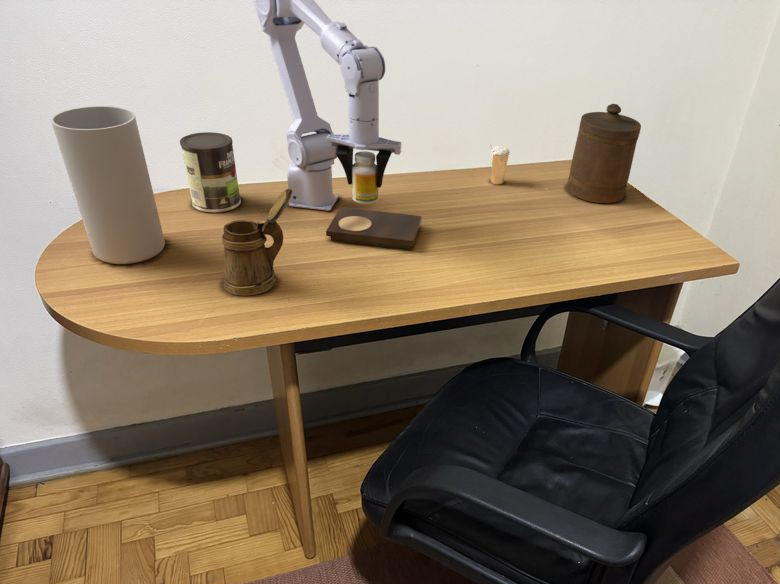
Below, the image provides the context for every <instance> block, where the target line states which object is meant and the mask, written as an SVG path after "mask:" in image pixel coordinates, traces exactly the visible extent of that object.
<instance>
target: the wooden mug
mask: <svg viewBox="0 0 780 584" xmlns="http://www.w3.org/2000/svg"><path fill="white" fill-rule="evenodd" d="M292 192H293V191H292V190H291V189H288V188H287V189H285V190H282V192H280V194H279V195H278V197H277V198H276V200H275V201H274V202H273V205H272V206H271V208H270V210H269V213H268V215H267V218H266V220H261V221H257V222H255V221H253V220H249V219H238V220H233V221H230V222H227V223H226V224H225V225H224V226H223V233H222V235H221V244H222V246H223V252H224V253H223V254H224V255H223V256H224V274H223V288H224V290H226V292H228V293H229V294H232V295H235V296H242V297H247V296H248V297H249V296H256V295H259V294H262V293H266V292H267V291H269V290H271V289H272V288H273V286H274V285H275V284H276V281H277V275H276V273H275V270H274V262H275V260H276V258H277V256H278V254H279V252H280V250H281V248H282V246H283V244H284V233H283V229H282V227H281V226H280V225H279V223H278V222H277V220H278V219H279V218H280V216H281V215H282V214H283V212H284V211H285V209H286V207H287V205H289V203H290V201H289V200H290V198H291V195H292ZM266 235H267V236H270V237H271V238H272V240H273V243H272V244H271V245H270V246H268V247H267V246H266V245H265V243H266V242H267V241H268V239H267V236H266Z"/></svg>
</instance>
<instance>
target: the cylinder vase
mask: <svg viewBox="0 0 780 584" xmlns="http://www.w3.org/2000/svg"><path fill="white" fill-rule="evenodd" d="M50 122H51V126H52V128H53V131H54V135H55V138H56V141H57V144H58V148H59V150H60V154H61V158H62V160H63V162H64V166H65V170H66V173H67V175H68V179H69V182H70V185H71V188H72V192H73V194H74V197H75V201H76V205H77V207H78V210H79V213H80V216H81V219H82V223H83V226H84V229H85V232H86V236H87V238H88V242H89V245H90V248H91V252H92V254H93V255H94V256H95V258H97V259H98V260H100V261H102V262H104V263H107V264H113V265H114V264H115V265H129V264H136V263H140V262H145V261H147V260H149V259H152V258H154V257H156V256H157V255H159V254H160V253H161V252H162V251H163V250H164V248H165V244H166V242H165V235H164V233H163V228H162V224H161V219H160V216H159V211H158V207H157V203H156V199H155V195H154V190H153V186H152V181H151V178H150V172H149V169H148V165H147V161H146V160H147V159H146V156H145V152H144V147H143V143H142V139H141V135H140V131H139V127H138V123H137V119H136V115H135V113H134V112H133V111H132V110H129V109H126V108H123V107H118V106H109V105H93V106H80V107H75V108H74V107H73V108H70V109H65V110H63V111H59V112H58V113H56V114H54V115H53V116H52V117H51V118H50Z"/></svg>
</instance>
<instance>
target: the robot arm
mask: <svg viewBox="0 0 780 584" xmlns="http://www.w3.org/2000/svg"><path fill="white" fill-rule="evenodd" d="M253 4H254V8H255V11H256V15H257V18H258V21H259V24H260V27H261V30H262V32H263V33H264V34H266V35H267V38H268V42H269V45H270V49H271V51H272V55H273V58H274V62H275V64H276V67H277V71H278V74H279V78H280V80H281V81H280V82H281V84H282V88H283V90H284V94H285V97H286V100H287V103H288V107H289V110H290V113H291V117H292V121H293V122H292V123H291V125H290V127H289V128H288V130H287V131H286V133H285V138H286V142H287V152H288V156H289V158H290V161H291V162H290V163H289V165H288V167H287V174H286V175H287V189H291V190H292V191H293V192H292V195H291V198H290V200H289V202H288V206H289V207H293V208H300V209H308V210H310V209H311V210H319V211H327V212H329V211H331V210H332V208H333V207H334V205H335V203H336V202H337V200H339V195H338V194H334V188H333V187H334V186H333V169H332V167H333V165H335V160H336V159H338V161H339V162H340V164H341V166H342V169H343V171H344V173H345V177H346V180H347V185H352V165H353V164H354V149H355V150H358V151H359V150H360V151H373V152H377V154H376V155H375V162H376V165H377V187H378V189H379V188H382V185H383V180H384V175H385V171H386V168H387V165H388V163H389V161H390V158H391V157H392V154H394V155H401V153H402V141H397V140H394V139H393V140H392V139H388V138H383V137H380V119H379V118H380V117H379V116H380V113H379V112H380V109H379V107H380V101H379V99H380V98H379V97H380V93H379V91H380V89H379V88H380V87H379V86H380V85H379V84H380V82H379V81H381V80H382V79H383V78H384V77H385V74H386V61H385V58H384V56H383V54H382V52H381V51H380V49H379V48H378V47H377V46H374V45H373V46H368V45H365V44H364V43H363V42H362V40H360V39H358V38H357V36H355V34H354V33H352V32H351V30H349V29H348V25H347V24H346V23H344V22H340V21H332V20H331V18H329V16H328V15H327V14H326V12H324V10H323V9H322V8H321V6H319V5H318V3H317V2H316V1H315V0H253ZM304 25H305V26H307V27H308V28H309V29H310V30H312V31H313V32H314V33H315V34H316V35H317V36H319V37H320V38H319V39H320V40H319V43H320V45H321V48H322V49H323V50H324V51H325V52H326V53H327V54H328V55H329V56H330V57H331V58H332V59H333V60H334V61H335V62H336V63H337V64H338V65H339V68H340V73H341V76H342V78H343V81H344V89H345V92H346V93H347V103H348V105H347V109H348V134H334V132H333V129H332V126H331V123H329V122H328V121H326V120H325V119H323V118H321V117H320V116H318V111H317V109H316V104H315V102H314V98H313V94H312V92H311V88H310V85H309V80H308V79H307V75H306V71H305V68H304V65H303V61H302V58H301V55H300V52H299V48H298V45H297V40H296V35H297V32H298V31H300V30H302V29H303V27H304ZM309 133H311V134H309ZM304 134H307V135H304Z"/></svg>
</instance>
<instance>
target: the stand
mask: <svg viewBox="0 0 780 584" xmlns="http://www.w3.org/2000/svg"><path fill="white" fill-rule="evenodd" d="M422 220H423V217H422V215H417V214H416V215H415V214H407V213H398V212H389V211H380V210H371V209H365V208H364V209H362V208H356V207H355V208H353V207H347V206H346V207H345V206H340V207H339V209H338V211H337V212H336V214H335V216H334V217H333V218H332V220H331V221H330V224H329V225H328V227H327V228H326V231H325V235H326V237H330V242H331V241H332V242H338V243H347V244H357V245H364V246H365V245H366V246H373V247H374V246H375V247H382V248H389V249H399V250H407V251H410V250H411V248H412V247H414V244H415V241H416V238H417V235H418V233H419V230H420V227H421V224H422V222H423V221H422Z"/></svg>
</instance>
